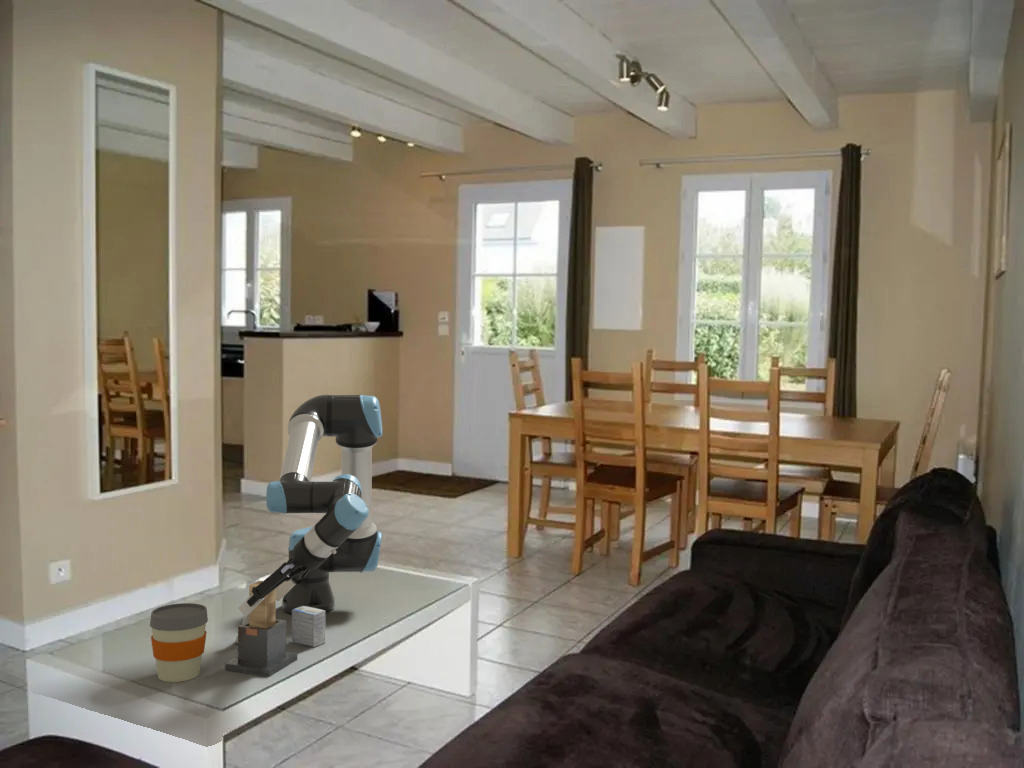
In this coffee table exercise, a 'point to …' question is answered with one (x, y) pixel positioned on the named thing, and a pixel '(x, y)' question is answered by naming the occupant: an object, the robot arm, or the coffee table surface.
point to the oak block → (263, 610)
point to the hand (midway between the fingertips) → (259, 604)
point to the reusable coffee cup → (178, 640)
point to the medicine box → (308, 626)
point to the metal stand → (261, 650)
